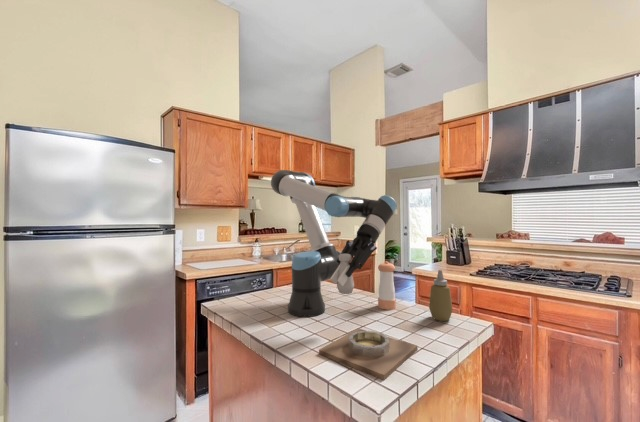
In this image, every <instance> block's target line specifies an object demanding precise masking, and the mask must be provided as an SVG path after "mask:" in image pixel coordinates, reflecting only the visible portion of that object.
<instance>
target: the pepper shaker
mask: <svg viewBox="0 0 640 422" xmlns="http://www.w3.org/2000/svg"><path fill="white" fill-rule="evenodd" d="M377 269H378V271H379V286H378V287H379V288H378V297H377V307H378V309H382V310H388V311H389V310H390V311H391V310H392V311H393V310H395V309H396V307H397V301H396V300H397V299H396V298H395V297H396V296H395V295H396V289H395V284H394V272H395V270H396V267H395V265H394V264H393V263H391V262H390V263H389V261H384V262H382V263H380V264H379V265H378V267H377Z"/></svg>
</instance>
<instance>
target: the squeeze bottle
mask: <svg viewBox="0 0 640 422" xmlns="http://www.w3.org/2000/svg"><path fill="white" fill-rule="evenodd" d="M428 305H429V306H428V308H429V312H430V314H431V317H432V319H433V320H436V321H439V322H447V321H450V319H451V315H452V314H453V304H452V294H451V288H450V286H449V285H448V280H447V279H445V277H444V273H443V269H439V270H438V272H437V276H436V278H434V279H433V284H432V285H431V286H430V296H429V304H428Z"/></svg>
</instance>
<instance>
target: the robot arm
mask: <svg viewBox="0 0 640 422" xmlns="http://www.w3.org/2000/svg"><path fill="white" fill-rule="evenodd" d="M270 187H271V189H272V191H274V192H275V193H276V194H278V195H281V196H283V197H289V198H290V201H291V203H293V204H295V206H296V209H297V211H298V214H299V216H300V219H301V223H302V226H303V228H304V230H305V234H306V236H307V239H308V243H309V245H310V247H311V250H308V251H302V252H301V251H300V252H299V253H295V254H294V255H293V256H292V259H291V262H292V263H291V287H292V288H291V295H290V297H289V301H288V304H287V313H289V314H290V315H292V316H296V317H314V316H319V315H321V314H324V313H326V304H325V302H324V299H323V295H322V292H321V291H322V289H321V287H322V286H321V285H322V283H321V282H325V281H328V280H330V281H331V282H332V283H333V284H334V285H337V282H339V283H340V284H341V286H344V284H345V283H346V281H347V278H348V277H350V276H351V275H352V276H353V273H354V271H356V270H357V269H358V270H361V269H362V268H363V266H364V265H365V264H366V262H367V261H368V260H369V258H370V257H371V255H372V254H373V253H374V252H375V251H376V250H377V249H378V247H377V245H375V243H376V242H377V240H378V239H379V238H380V235H381V234H382V232H383V230H384V229H385V227H386V226H387V224H388V222H389V220H390V219H391V218H392V217H393V216H394V213H395V211H396V209H397V206H398V205H397V204H398V203H397V202H396V200H395V199H394V198H393V197H391V196H390V195H386V194H384V195H381V196H380V197H379V198H378V199H377V200H376V199H369V198H364V197H360V196H344V195H341V194H337V193H334V192H333V191H329V190H326V189H323V188H320V187H318V186H316V183H315V180H314V177H312V175H310V174H308V173H307V172H303V171H300V172H299V171H293V170H288V169H281V170H277V171H276V172H275V173H274V174H273V175H272V177H271V179H270ZM317 208H318V209H320V210H322V211H325V212H326V213H327V214H328V215H329V217H335V218H355V217H357V218H358V217H359V218H364V221H363V222H362V223H361V225H360V227H359V228H358V230H357V231H356V237H354V239H353V240H352V241H350V240H349V239H348V240H347V241H346V242H345V246H344V247H343V249H342V251H341V252H340V251H338V250H337V248H336V246H335V244H334V243H331V242H330V241H329V237H328V235H327V232H326V230H325V227H324V224H323V222H322V218H321V216H320V214H319V212H318V211H319V210H318V209H317ZM340 254H350V255H351V257H352V259H351V261H350V263H349V265H350V266H349V265H348V266H347V267H346V268H345V270H344V271H343V273H342V274H341V276H340V277H339V279H338V275H339V269H340V262H341V261H339V255H340Z"/></svg>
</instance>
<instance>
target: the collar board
mask: <svg viewBox="0 0 640 422" xmlns="http://www.w3.org/2000/svg"><path fill="white" fill-rule="evenodd" d="M415 352H418V344H413V343H411V342H406V341H403V340H399V339H397V338H393V337H389V336H387V335H385V334H384V333H381V332H378V331H374V330H373V331H372V330H365V329H362V328H356V329H355V330H353V331H351V332H348V333H347V334H344V335H343V336H340V338H338V339H336V340H334V341H333V342H332V341H331V343H329V344H326V346H323V347H321V348H320V349H319V350H318V355H320V356H323V357H325V358H327V359H330V360H333V361H335V362H337V363H340V364H343V365H346V366H348V367H350V368H353V369H355V370H358V371H361V372H363V373H365V374H368V375H370V376H373V377H375V378H377V379H381V380H382V381H385V380H387V378H389V377H390V376H391V375H392V374H393V373H394V372H395V371H396V370H397V369H399V367H401V366H402V364H404V362H406V361H408V360H409V358H410V357H412V355H414V354H415Z"/></svg>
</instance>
